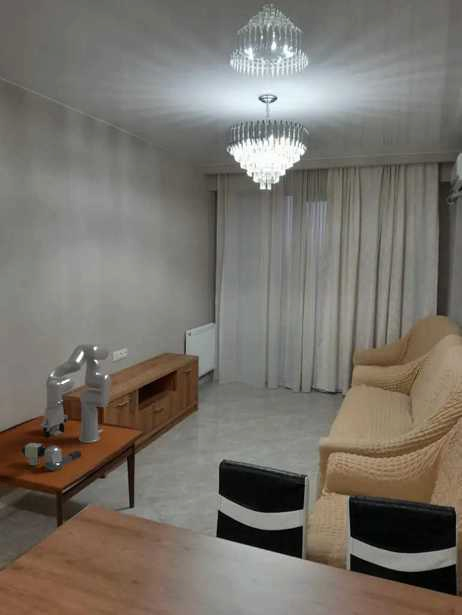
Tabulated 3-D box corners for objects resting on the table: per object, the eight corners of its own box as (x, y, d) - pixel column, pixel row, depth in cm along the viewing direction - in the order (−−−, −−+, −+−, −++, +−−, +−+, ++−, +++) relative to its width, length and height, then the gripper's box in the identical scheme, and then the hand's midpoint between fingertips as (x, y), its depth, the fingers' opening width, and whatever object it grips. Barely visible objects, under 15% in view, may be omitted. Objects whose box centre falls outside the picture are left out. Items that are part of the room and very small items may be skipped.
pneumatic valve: (41, 467, 251) (41, 446, 250) (21, 464, 253) (21, 443, 252) (47, 463, 256) (47, 442, 255) (28, 460, 259) (27, 439, 257)
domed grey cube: (54, 457, 255) (53, 444, 254) (62, 460, 252) (61, 447, 251) (45, 462, 250) (44, 449, 249) (53, 465, 247) (52, 452, 246)
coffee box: (62, 432, 299) (62, 408, 297) (54, 436, 293) (54, 411, 291) (53, 429, 303) (53, 405, 301) (45, 432, 298) (45, 408, 296)
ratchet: (73, 453, 269) (73, 442, 269) (84, 457, 265) (84, 445, 264) (41, 468, 250) (41, 456, 249) (52, 473, 246) (52, 460, 245)
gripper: (62, 398, 257) (62, 428, 259) (35, 407, 242) (36, 438, 244) (72, 401, 254) (72, 431, 256) (45, 410, 238) (46, 441, 241)
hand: (54, 434), depth 250 cm, fingers open, 9 cm apart
